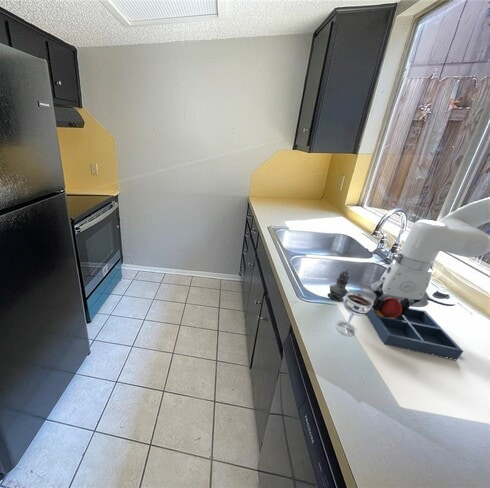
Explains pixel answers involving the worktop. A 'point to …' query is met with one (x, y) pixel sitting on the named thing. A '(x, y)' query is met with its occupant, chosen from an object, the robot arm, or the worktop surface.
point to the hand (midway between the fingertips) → (388, 309)
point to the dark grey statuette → (339, 287)
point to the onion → (391, 307)
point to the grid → (414, 333)
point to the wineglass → (354, 309)
